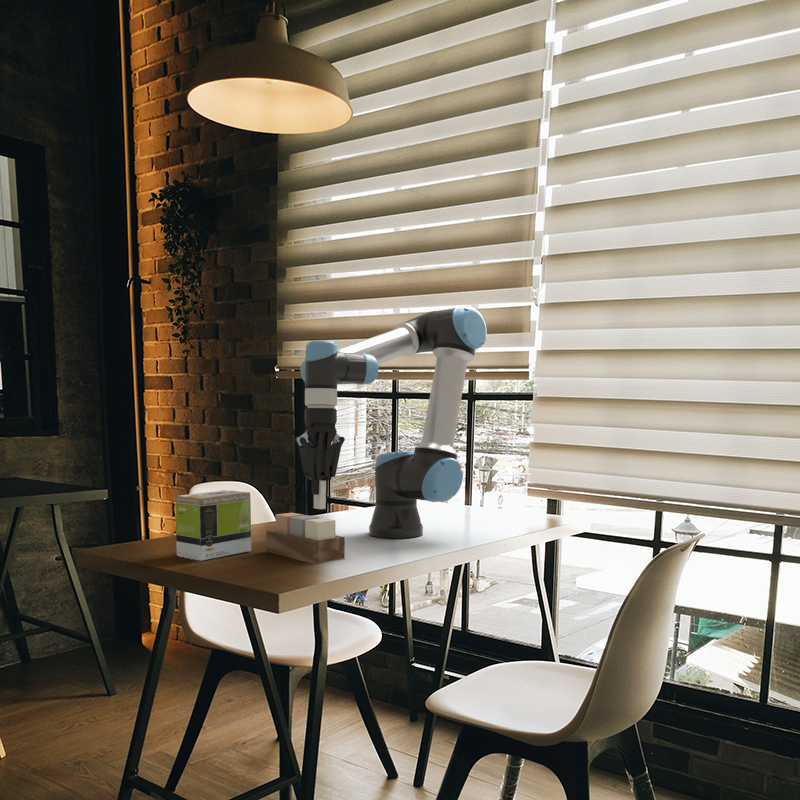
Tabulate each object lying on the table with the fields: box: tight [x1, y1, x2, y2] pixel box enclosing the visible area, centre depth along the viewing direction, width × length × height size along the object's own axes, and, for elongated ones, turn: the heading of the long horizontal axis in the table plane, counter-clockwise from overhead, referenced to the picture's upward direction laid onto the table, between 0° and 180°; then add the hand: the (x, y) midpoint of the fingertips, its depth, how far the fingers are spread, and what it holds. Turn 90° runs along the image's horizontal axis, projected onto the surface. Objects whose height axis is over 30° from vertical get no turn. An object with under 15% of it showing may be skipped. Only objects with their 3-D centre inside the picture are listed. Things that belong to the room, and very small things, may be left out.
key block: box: [265, 529, 346, 565], centre depth 173 cm, size 9×19×5 cm, turn 42°
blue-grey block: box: [290, 514, 320, 537], centre depth 173 cm, size 5×5×6 cm
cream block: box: [305, 517, 336, 540], centre depth 169 cm, size 5×5×6 cm
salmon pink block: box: [274, 512, 305, 534], centre depth 178 cm, size 5×5×6 cm
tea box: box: [175, 489, 252, 562], centre depth 174 cm, size 15×10×15 cm, turn 141°
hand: (319, 508), depth 169 cm, fingers closed
